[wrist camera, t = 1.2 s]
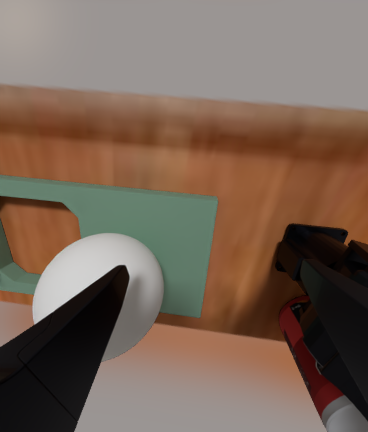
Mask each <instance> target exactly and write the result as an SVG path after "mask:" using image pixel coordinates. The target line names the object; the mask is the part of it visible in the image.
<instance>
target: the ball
mask: <svg viewBox="0 0 368 432" xmlns="http://www.w3.org/2000/svg"><path fill="white" fill-rule="evenodd" d="M117 265H126V267H127V270H128V273H129V276H130V280H129V284H128V288H127V291H126V295H125V299H124V302H123V306H122V309H121V311H120V314H119V317H118V319H117V322H116V324H115V327H114V330H113V332H112V335H111V337H110V340H109V342H108V345H107V348H106V350H105V353H104V355H103V358H102V361H101V362H103V361H106V360H109V359H112V358H115V357H117V356H119V355H121V354H123V353H125V352H126V351H128V350H129V349H131V348H132V347H133V346H135V345H136V344H137V343H138V342H139V341H140V340H141V339H142V338H143V337H144V336H145V335H146V333H147V332H148V331H149V330H150V328H151V327H152V325H153V323H154V322H155V320H156V318H157V316H158V314H159V311H160V308H161V305H162V300H163V294H164V280H163V275H162V270H161V267H160V265H159V263H158V261H157V259H156V257H155V256H154V254H153V253H152V252H151V251H150V249H149V248H147V247H146V246H145V245H144V244H143V243H141V242H140V241H138V240H136V239H134V238H132V237H130V236H127V235H123V234H118V233H101V234H96V235H91V236H88V237H85V238H82V239H80V240H78V241H76V242H74V243H72V244H71V245H69V246H67V247H66V248H65V249H64V250H62V251H61V252H60V253H59V254H58V255H56V257H55V258H54V259H53V260H52V261H51V262H50V263H49V265H48V266H47V267H46V269H45V270H44V272H43V274H42V275H41V277H40V279H39V282H38V284H37V287H36V289H35V294H34V298H33V319H34V324H36V323H38V322H39V321H40V320H42V319H43V318H45V317H46V316H47V315H49V314H50V313H52V312H54V311H55V310H56V309H57V308H59V307H60V306H61V305H63V304H64V303H66V302H67V301H68V300H70V299H71V298H73V297H74V296H75V295H77V294H78V293H80V292H81V291H82V290H84V289H85V288H87V287H88V286H89V285H91V284H92V283H94V282H95V281H96V280H98V279H99V278H101V277H102V276H103V275H105V274H106V273H107V272H109V271H110V270H112V269H113V268H114V267H116V266H117Z"/></svg>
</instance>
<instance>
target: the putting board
mask: <svg viewBox="0 0 368 432" xmlns="http://www.w3.org/2000/svg"><path fill="white" fill-rule="evenodd" d="M0 196H9V197H19V198H28V199H38V200H47V201H56V202H62V203H63V204H64V205H65V206H66V207H67V208H69V209H70V210H71V211H72V212H73V213H74V214H75V215H76V216H77V217H78V219H79V226H80V233H81V239H82V238H85V237H88V236H91V235H96V234H101V233H118V234H123V235H127V236H130V237H132V238H134V239H136V240H138V241H140V242H141V243H143V244H144V245H145V246H146V247H147V248H149V249H150V251H151V252H152V253H153V254H154V256H155V257H156V259H157V261H158V263H159V265H160V267H161V270H162V275H163V280H164V294H163V300H162V305H161V308H160V311H159V312H161V313H168V314H175V315H182V316H189V317H196V318H200V316H201V310H202V303H203V297H204V290H205V283H206V277H207V270H208V264H209V257H210V251H211V244H212V238H213V231H214V225H215V218H216V212H217V205H218V199H217V197H216V196H206V195H196V194H186V193H176V192H166V191H156V190H146V189H136V188H126V187H116V186H106V185H96V184H86V183H76V182H66V181H56V180H46V179H36V178H26V177H16V176H6V175H0ZM40 277H41V275H40V274H33V273H27V272H25V271H24V270H23V269H22V268H20V267H19V266H18V265H17V264H16V263H14V262H13V259H12V256H11V252H10V249H9V246H8V243H7V239H6V236H5V233H4V230H3V226H2V223H1V220H0V290H4V291H11V292H18V293H25V294H33V295H34V294H35V289H36V287H37V284H38V282H39V279H40Z"/></svg>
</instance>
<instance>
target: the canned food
mask: <svg viewBox="0 0 368 432" xmlns="http://www.w3.org/2000/svg"><path fill="white" fill-rule="evenodd" d="M309 299H310V297H309V296H302V297H298V298H295V299H293V300H291V301H290V302H288V303H287V304H286V305H285V306H284V307H283V308H282V309H281V311H280V314H279V324H280V328H281V330H282V333H283V335H284V337H285V340H286V342H287V344H288V346H289V348H290V351H291V353H292V355H293V357H294V360H295V362H296V364H297V367H298V369H299V371H300V373H301V376H302V378H303V380H304V382H305V385H306V387H307V389H308V391H309V394H310V396H311V398H312V401H313V403H314V405H315V407H316V409H317V411H318V414H319V416H320V418H321V420H322V422H323V424H324V426H325V428H326V430H327V432H368V421H367V420H366V419H365V418H364V416H363V415H362V414H361V413H360V412H359V410H358V409H357V408H356V407H355V406H354V404H353V403H352V402H351V401H350V400H349V399H348V398H347V397H346V396H345V395H344V394H343V393H342V392H341V391H340V390H339V389H338V388H337V387H336V386H334V385H333V384H332V383H331V382H330V381H328V380H327V379H326V378H325V377H324V376H323V375H322V374H321V373H320V370H321V369H322V367H321V366H320V365H319V364H318V363H317V362H316V360H315V359H314V357H313V356H312V355H311V353H310V352H309V350H308V349H307V347H306V346H305V344H304V342H303V340H302V337H303V336H304V335H303V333H302V330H301V327H300V318H301V316H300V312H299V310H300V309H301V308H302V307H304V306H305V304H306V303H307V302H308V300H309Z"/></svg>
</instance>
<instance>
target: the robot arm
mask: <svg viewBox="0 0 368 432" xmlns="http://www.w3.org/2000/svg"><path fill="white" fill-rule="evenodd" d="M292 227H294V229H291V228H292ZM342 232H343V233H342ZM341 233H342V234H341ZM347 235H348V232H347V231H346V230H344V229H340V228H331V227H321V226H312V225H303V224H290V225H288V227H287V230H286V234H285V237H284V240H282V242H281V246H280V249H279V252H278V255H277V262H276V266H275V267H276V269H277V270H278V271H281V272H287V273H288V274H289V276H290V277H291V278H292V280H294V281H296V282H297V283H298V284H299V286H300V287H301V288H302V290H303V291H304V293H305V294H306V295H308V296H309V297H310V299H309V300H308V302H307V303H306V304H305V306H304V307H302V308H301V309H300V310H299V312H300V316H301V318H300V327H301V330H302V333H303V335H304V336H303V337H302V340H303V342H304V344H305V346H306V347H307V349H308V350H309V352H310V353H311V355H312V356H313V357H314V359H315V360H316V362H317V363H318V364H319V365H320V366H321V367H322V369H321V370H320V373H321V374H322V375H323V376H324V377H325V378H326V379H327V380H328V381H330V382H331V383H332V384H333V385H334V386H336V387H337V388H338V389H339V390H340V391H341V392H342V393H343V394H344V395H345V396H346V397H347V398H348V399H349V400H350V401H351V402H352V403H353V404H354V406H355V407H356V408H357V409H358V410H359V412H360V413H361V414H362V415H363V416H364V418H365V419H366V420H367V421H368V245H367V244H364V243H361V242H358V241H355V240H351V241H350V243H349V244H348V246H349V247H348V246H346V245H345V244H344V242H345V239H346V237H347ZM280 266H281V267H280ZM279 267H280V268H279ZM129 280H130V276H129V273H128V270H127V267H126V265H117V266H116V267H114V268H113V269H112V270H110V271H109V272H107V273H106V274H105V275H103V276H102V277H101V278H99V279H98V280H96V281H95V282H94V283H92V284H91V285H89V286H88V287H87V288H85V289H84V290H82V291H81V292H80V293H78V294H77V295H75V296H74V297H73V298H71V299H70V300H68V301H67V302H66V303H64V304H63V305H61V306H60V307H59V308H57V309H56V310H55V311H54V312H52V313H50V314H49V315H47V316H46V317H45V318H43V319H42V320H40V321H39V322H38V323H36V324H35V325H33V326H32V327H30V328H29V329H27V330H26V331H24V332H23V333H21V334H20V335H18V336H17V337H15V338H14V339H12V340H10V341H9V342H8V343H6V344H5V345H3V346H1V347H0V432H74V431H75V428H76V425H77V423H78V422H77V421H78V420H79V417H80V415H81V412H82V410H83V407H84V405H85V402H86V399H87V397H88V394H89V392H90V389H91V386H92V383H93V381H94V379H95V376H96V374H97V371H98V368H99V366H100V363H101V361H102V358H103V355H104V353H105V350H106V348H107V345H108V342H109V340H110V337H111V335H112V332H113V330H114V327H115V324H116V322H117V319H118V317H119V314H120V311H121V309H122V306H123V302H124V299H125V295H126V291H127V288H128V284H129Z"/></svg>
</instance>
